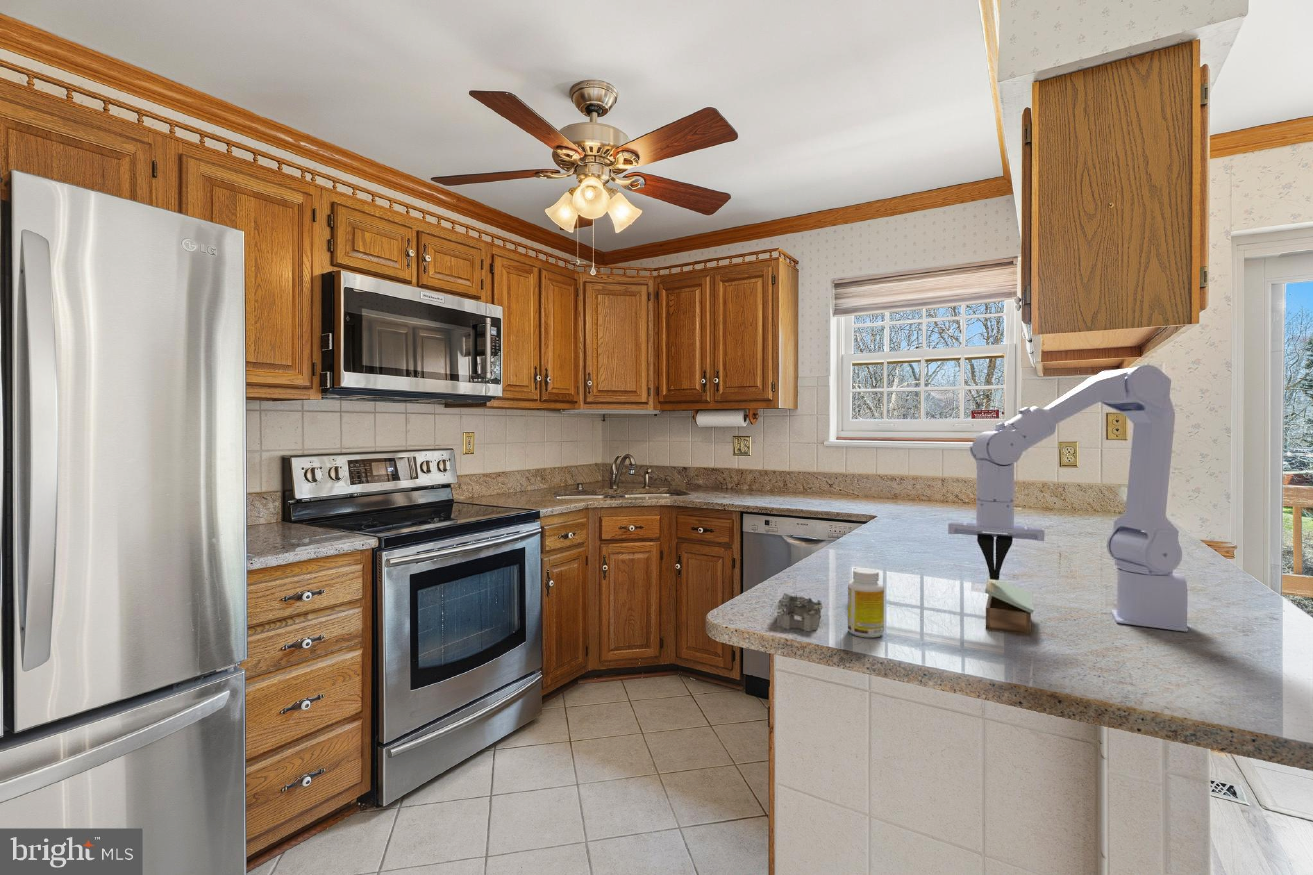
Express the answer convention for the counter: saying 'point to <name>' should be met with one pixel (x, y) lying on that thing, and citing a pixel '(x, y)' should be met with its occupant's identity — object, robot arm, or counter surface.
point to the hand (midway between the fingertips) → (994, 578)
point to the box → (1007, 617)
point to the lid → (1010, 594)
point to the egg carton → (798, 612)
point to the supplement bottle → (865, 604)
